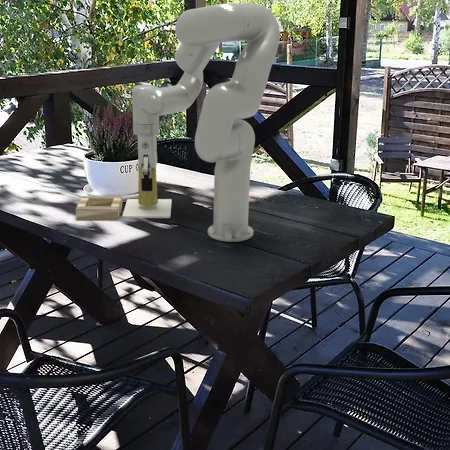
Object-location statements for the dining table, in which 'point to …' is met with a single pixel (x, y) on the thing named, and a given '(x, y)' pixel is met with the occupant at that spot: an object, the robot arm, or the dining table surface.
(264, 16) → the robot arm
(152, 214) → the board
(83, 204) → the holder
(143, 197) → the vase
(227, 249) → the dining table surface
